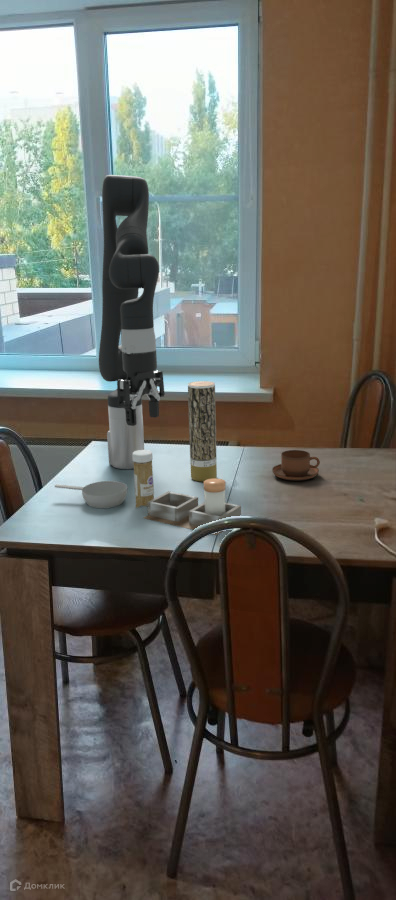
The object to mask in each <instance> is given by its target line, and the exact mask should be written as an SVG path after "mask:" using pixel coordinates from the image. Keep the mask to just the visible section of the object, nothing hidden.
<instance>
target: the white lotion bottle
mask: <svg viewBox="0 0 396 900" xmlns="http://www.w3.org/2000/svg"><path fill="white" fill-rule="evenodd" d="M203 490H204V495H203V496H204V502H205V513H207V514H212V515H216V516H221V515H223V514H225V503H226V480H224V479H222V478H217V477H216V478H213V479H207V480H205V481H204V482H203Z"/></svg>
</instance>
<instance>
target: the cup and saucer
mask: <svg viewBox="0 0 396 900" xmlns="http://www.w3.org/2000/svg"><path fill="white" fill-rule="evenodd" d="M280 455H281V456H280V458H281V460H280V461H281V463H280V464H279V463H278V464H277V465H275V466H273V467H272V469H271V471H272V473H273V475H274V476H276V477H278V478H280V479H281V480H282V479H283V480H286V481H307V480H310V479H313V478H315V477H316V476H317V475H318V474H319V472H320V469H319V468H318V467H319V466H320V463H321V461H320V459H319V458H318V457H316V456H311V453H310V452H308V451H305V450H299V449H290V450H285V451H282V452H281V454H280ZM312 460H315V461H316V464H314V465H313V464H311V463H310V462H311V461H312Z"/></svg>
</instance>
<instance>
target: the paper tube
mask: <svg viewBox="0 0 396 900" xmlns="http://www.w3.org/2000/svg"><path fill="white" fill-rule="evenodd" d="M215 383H216V382H214V381H208V380H207V381H206V380H205V381H203V380H202V381H199V380H198V381H191V382H188V384H187V396H188V397H187V400H188V403H187V405H188V431H189V432H188V433H189V458H190V459H189V462H190V463H189V464H190V478H191V479H192V480H193V481H195V482H203V483H204V481H205V480H207V479H213V478H217V475H218V474H217V473H218V471H217V469H218V468H217V463H218V462H217V461H218V460H217V458H218V457H217V419H216V417H217V416H216V413H217V412H216V385H215Z"/></svg>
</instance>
